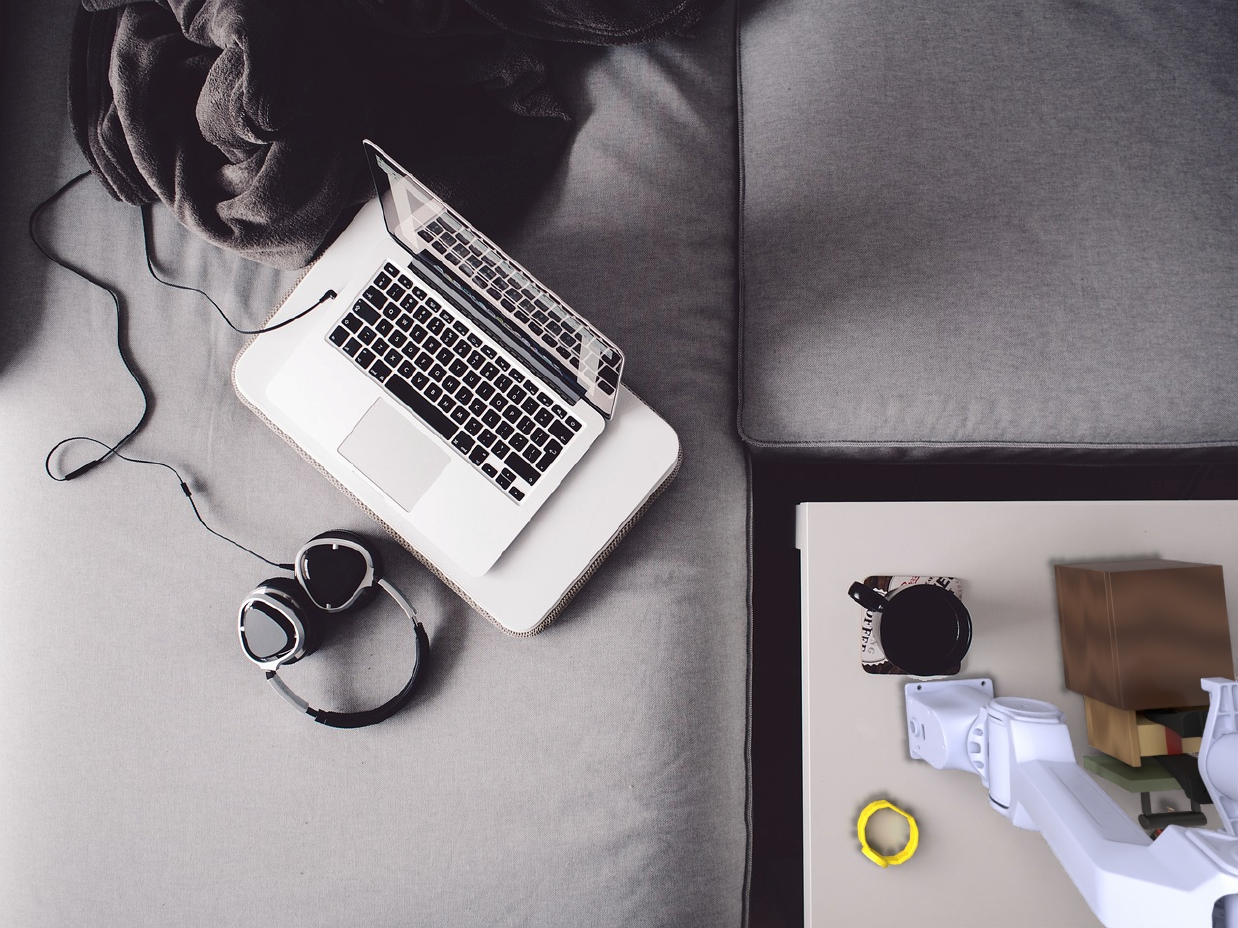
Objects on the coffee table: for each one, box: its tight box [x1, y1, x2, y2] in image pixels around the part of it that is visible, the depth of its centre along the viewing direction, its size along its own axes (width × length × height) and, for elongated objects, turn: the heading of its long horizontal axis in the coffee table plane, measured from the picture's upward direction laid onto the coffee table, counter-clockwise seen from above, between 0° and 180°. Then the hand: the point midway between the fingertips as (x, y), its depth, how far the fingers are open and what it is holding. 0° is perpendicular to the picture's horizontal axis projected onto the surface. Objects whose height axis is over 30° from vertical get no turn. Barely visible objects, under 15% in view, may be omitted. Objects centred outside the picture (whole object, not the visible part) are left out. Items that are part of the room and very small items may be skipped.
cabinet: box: [1053, 558, 1236, 711], centre depth 72 cm, size 13×11×8 cm
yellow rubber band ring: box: [856, 799, 920, 869], centre depth 73 cm, size 6×3×6 cm
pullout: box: [1082, 695, 1210, 831], centre depth 71 cm, size 17×10×7 cm, turn 3°
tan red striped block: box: [1136, 711, 1202, 756], centre depth 70 cm, size 7×3×4 cm, turn 93°
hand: (1156, 731), depth 70 cm, fingers closed on tan red striped block, 3 cm apart
